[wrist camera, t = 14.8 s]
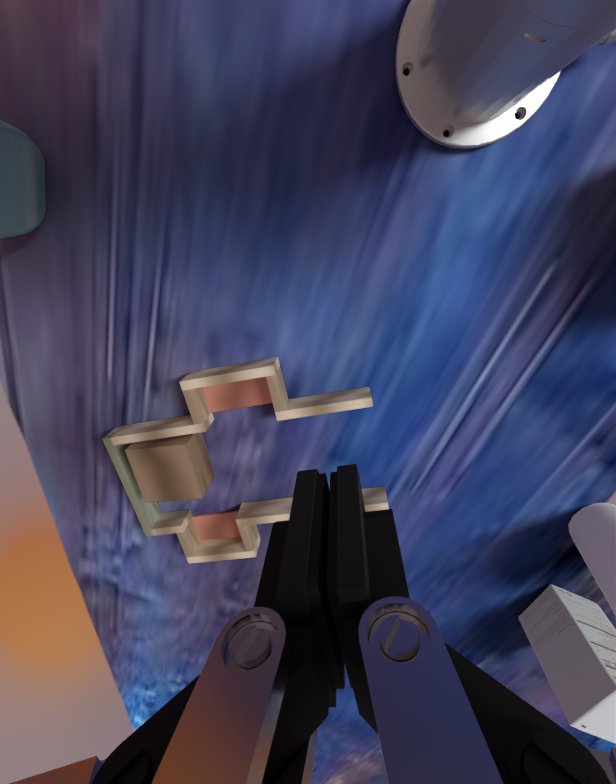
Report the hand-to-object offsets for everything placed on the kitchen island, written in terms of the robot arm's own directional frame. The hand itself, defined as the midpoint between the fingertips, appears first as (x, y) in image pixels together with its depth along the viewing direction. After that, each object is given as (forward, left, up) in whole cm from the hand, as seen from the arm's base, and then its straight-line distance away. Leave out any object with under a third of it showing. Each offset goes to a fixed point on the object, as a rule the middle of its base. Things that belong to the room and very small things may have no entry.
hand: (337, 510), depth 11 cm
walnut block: (+22, +13, -29) cm, 39 cm away
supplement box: (-22, +44, -29) cm, 57 cm away
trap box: (+13, +15, -29) cm, 35 cm away
